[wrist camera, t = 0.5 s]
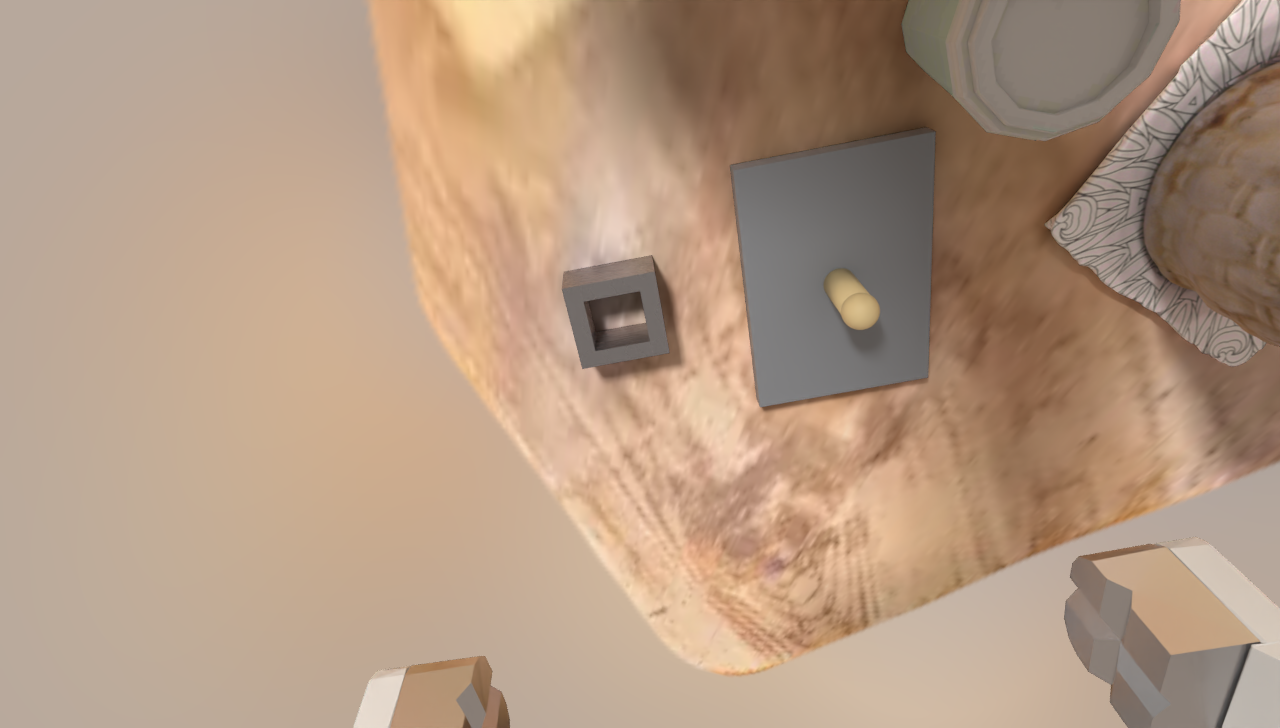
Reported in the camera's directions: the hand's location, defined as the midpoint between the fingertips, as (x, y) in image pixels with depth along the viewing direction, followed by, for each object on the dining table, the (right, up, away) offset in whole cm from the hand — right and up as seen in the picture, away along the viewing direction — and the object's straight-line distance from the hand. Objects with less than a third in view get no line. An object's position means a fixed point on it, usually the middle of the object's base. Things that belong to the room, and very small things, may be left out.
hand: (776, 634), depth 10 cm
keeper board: (+13, +11, +45) cm, 48 cm away
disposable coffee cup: (+18, +27, +36) cm, 48 cm away
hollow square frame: (-4, +8, +45) cm, 46 cm away
